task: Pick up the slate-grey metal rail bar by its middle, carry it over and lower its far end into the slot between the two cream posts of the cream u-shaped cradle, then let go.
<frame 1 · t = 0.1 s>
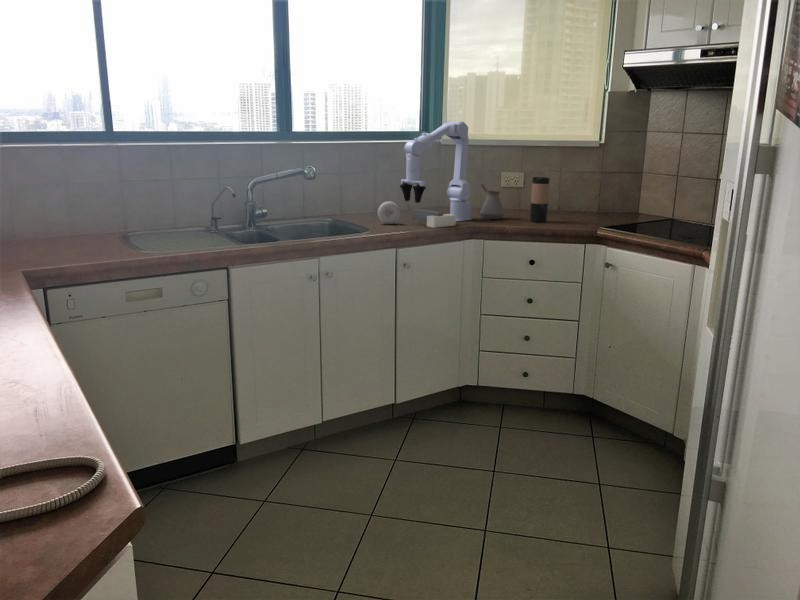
hand: (412, 201, 289), 10 cm above the countertop, tool pointing down, fingers open, 7 cm apart
donut: (388, 224, 292), on the countertop
coffee pot: (487, 217, 319), on the countertop
travel mug: (538, 222, 306), on the countertop
rail: (427, 222, 302), on the countertop
cream u-shaped cradle: (440, 225, 290), on the countertop
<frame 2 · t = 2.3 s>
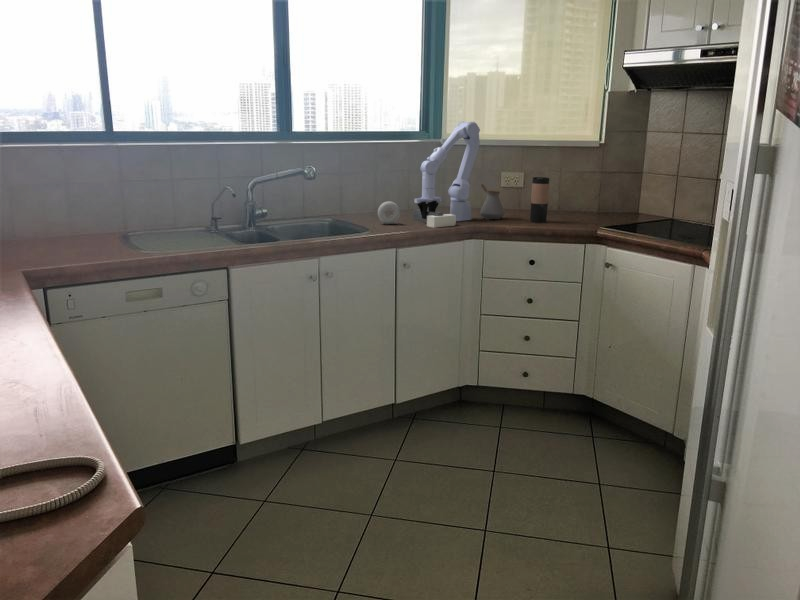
hand: (427, 218, 302), 1 cm above the countertop, tool pointing down, fingers closed on rail, 3 cm apart
rail: (427, 221, 302), on the countertop, touching gripper
everything else where it was.
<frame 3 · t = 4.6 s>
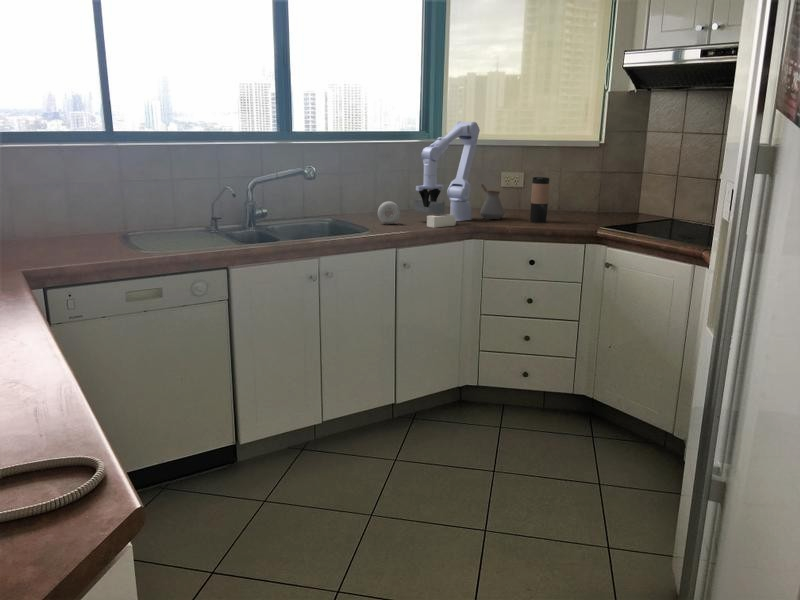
hand: (429, 206, 294), 8 cm above the countertop, tool pointing down, fingers closed on rail, 3 cm apart
rail: (428, 211, 295), point 5 cm above the countertop, touching gripper
everything else where it was.
when the fingers open (3 cm above the countertop, at t = 6.4 s): rail stays where it is, on the countertop.
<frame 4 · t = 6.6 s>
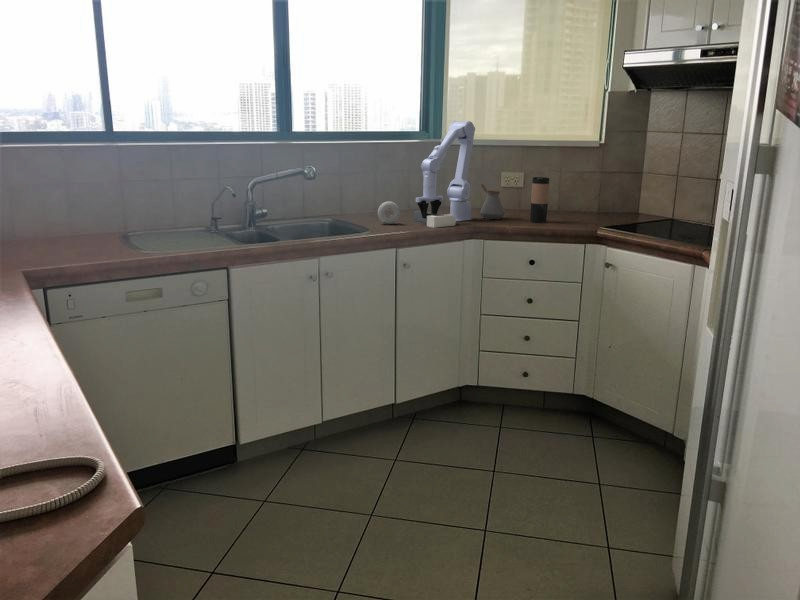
hand: (429, 217, 295), 3 cm above the countertop, tool pointing down, fingers open, 5 cm apart
rail: (428, 224, 296), on the countertop
everything else where it was.
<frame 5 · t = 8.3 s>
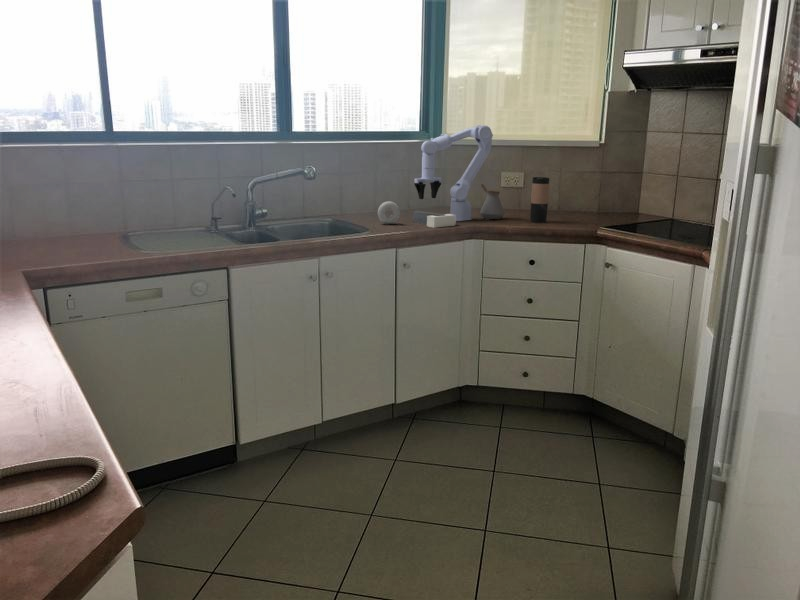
hand: (427, 198, 304), 10 cm above the countertop, tool pointing down, fingers open, 7 cm apart
nothing on the countertop moved.
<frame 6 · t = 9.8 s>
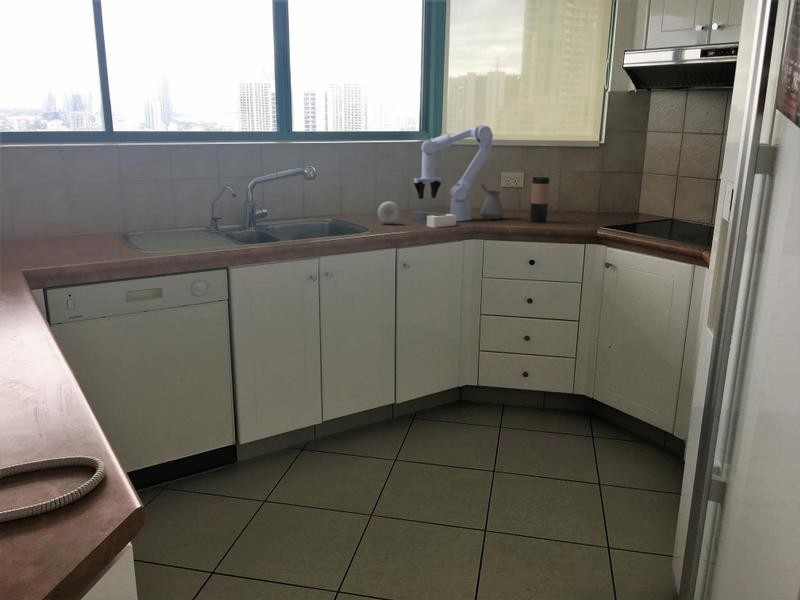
hand: (427, 198, 305), 10 cm above the countertop, tool pointing down, fingers open, 7 cm apart
nothing on the countertop moved.
at the end: rail 0.1 cm from the target spot on the countertop beside the cream u-shaped cradle, on the countertop; rail tilted 0°; the gripper is holding nothing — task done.
